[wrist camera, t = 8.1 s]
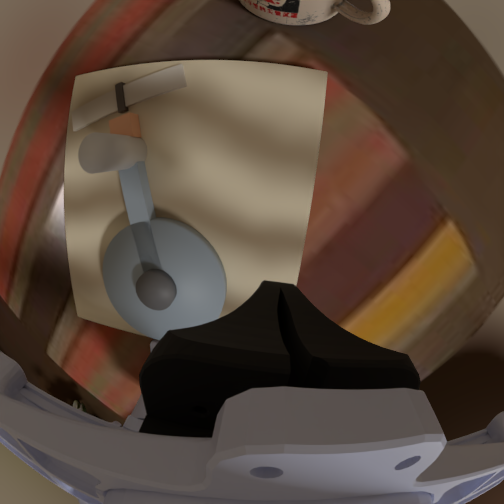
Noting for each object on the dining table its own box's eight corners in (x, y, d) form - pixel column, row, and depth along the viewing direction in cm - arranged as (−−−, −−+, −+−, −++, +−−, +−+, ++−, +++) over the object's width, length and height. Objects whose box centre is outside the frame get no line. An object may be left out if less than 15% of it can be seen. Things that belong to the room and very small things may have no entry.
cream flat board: (279, 351, 23) (279, 364, 22) (83, 311, 24) (74, 319, 22) (324, 77, 16) (329, 69, 14) (83, 78, 17) (71, 74, 15)
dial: (238, 330, 21) (229, 372, 17) (132, 335, 23) (108, 369, 18) (191, 97, 16) (163, 78, 11) (78, 139, 17) (36, 140, 13)
